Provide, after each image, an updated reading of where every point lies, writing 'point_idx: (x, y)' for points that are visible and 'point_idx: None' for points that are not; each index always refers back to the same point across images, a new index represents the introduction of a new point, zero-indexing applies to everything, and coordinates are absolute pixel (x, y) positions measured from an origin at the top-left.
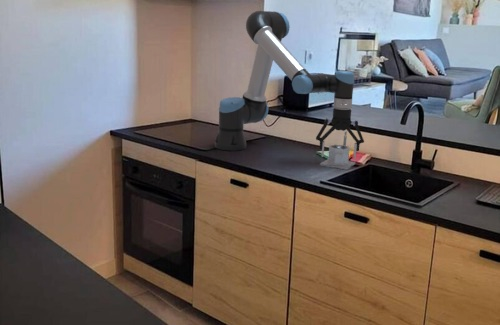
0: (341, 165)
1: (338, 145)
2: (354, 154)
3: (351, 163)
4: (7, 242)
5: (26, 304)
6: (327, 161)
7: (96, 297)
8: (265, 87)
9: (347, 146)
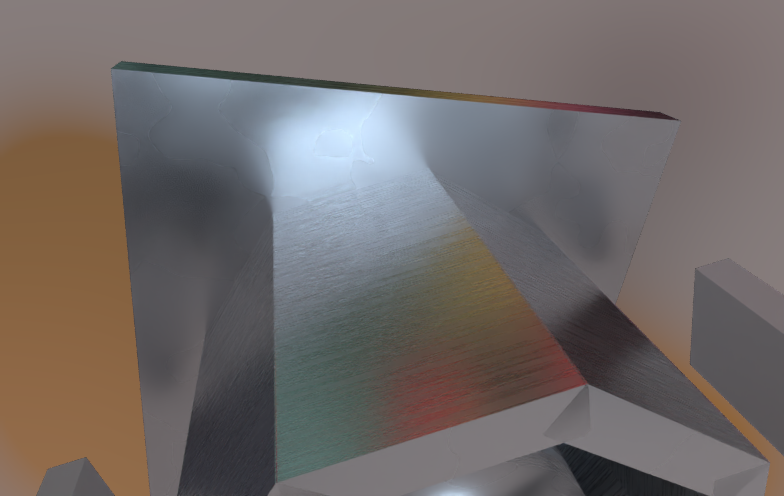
0: None
1: (425, 480)
2: (762, 425)
3: (607, 253)
4: None
5: None
6: (201, 354)
7: None
8: None
9: (729, 452)
